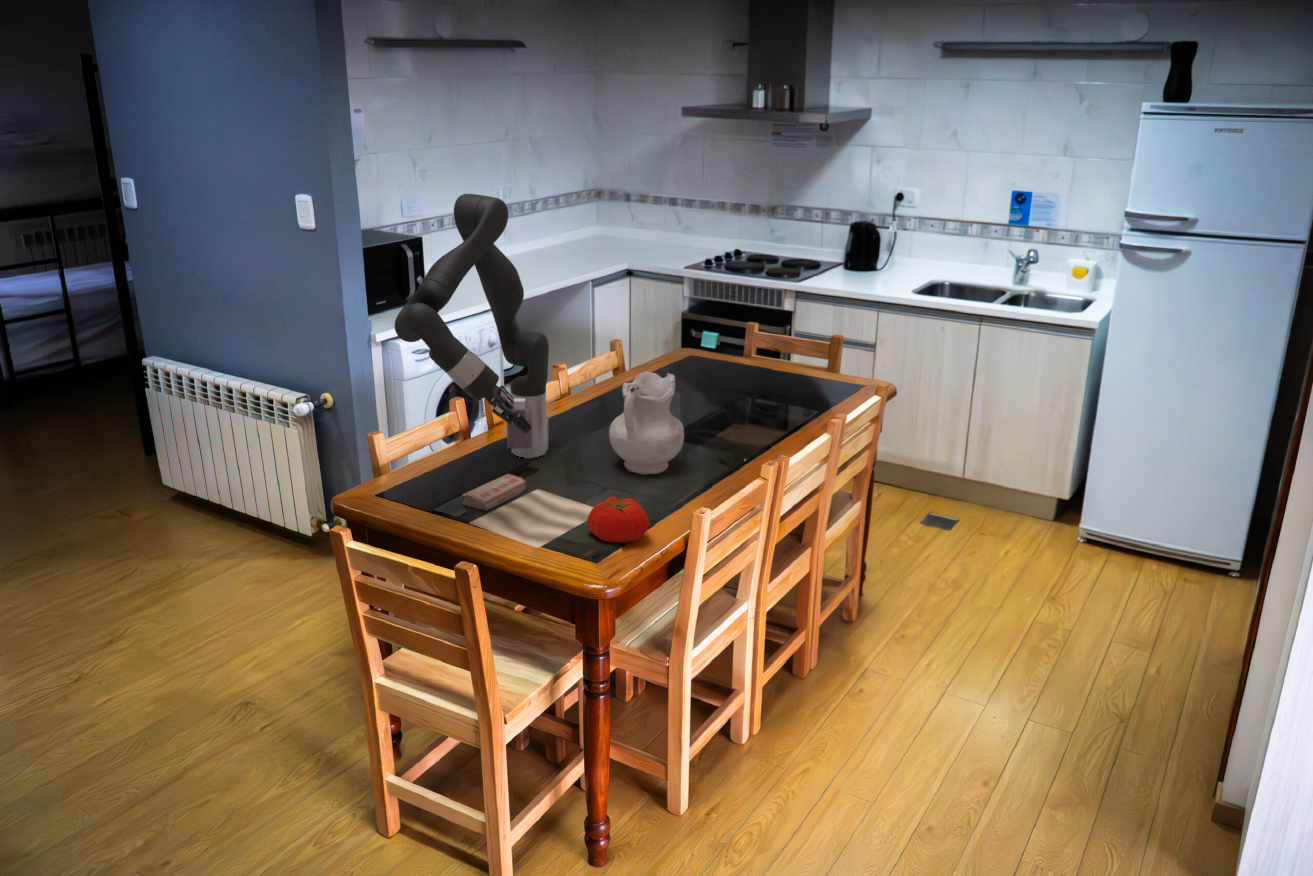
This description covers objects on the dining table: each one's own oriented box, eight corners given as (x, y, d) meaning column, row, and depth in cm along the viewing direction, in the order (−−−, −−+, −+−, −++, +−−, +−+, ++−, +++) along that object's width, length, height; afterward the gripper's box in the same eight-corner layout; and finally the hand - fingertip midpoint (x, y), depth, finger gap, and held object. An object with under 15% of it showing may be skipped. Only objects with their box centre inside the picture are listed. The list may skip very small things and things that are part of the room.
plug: (507, 443, 227) (506, 397, 223) (532, 443, 228) (532, 397, 224) (507, 448, 225) (506, 402, 221) (532, 448, 225) (532, 402, 221)
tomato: (648, 525, 230) (649, 490, 227) (649, 550, 219) (650, 514, 216) (587, 524, 230) (588, 488, 227) (585, 549, 218) (586, 512, 215)
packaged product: (502, 469, 247) (533, 479, 242) (502, 487, 249) (533, 497, 244) (450, 492, 233) (482, 503, 228) (451, 511, 234) (483, 522, 229)
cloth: (537, 493, 244) (537, 488, 244) (604, 515, 234) (604, 510, 234) (468, 527, 226) (468, 523, 225) (537, 553, 215) (537, 548, 215)
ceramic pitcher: (670, 491, 251) (682, 398, 242) (595, 477, 254) (604, 384, 245) (685, 460, 271) (697, 373, 262) (615, 447, 274) (624, 360, 265)
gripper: (482, 373, 212) (541, 427, 218) (485, 354, 225) (540, 405, 231) (458, 396, 213) (516, 450, 219) (462, 376, 226) (517, 427, 232)
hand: (528, 427), depth 225 cm, fingers closed on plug, 3 cm apart
